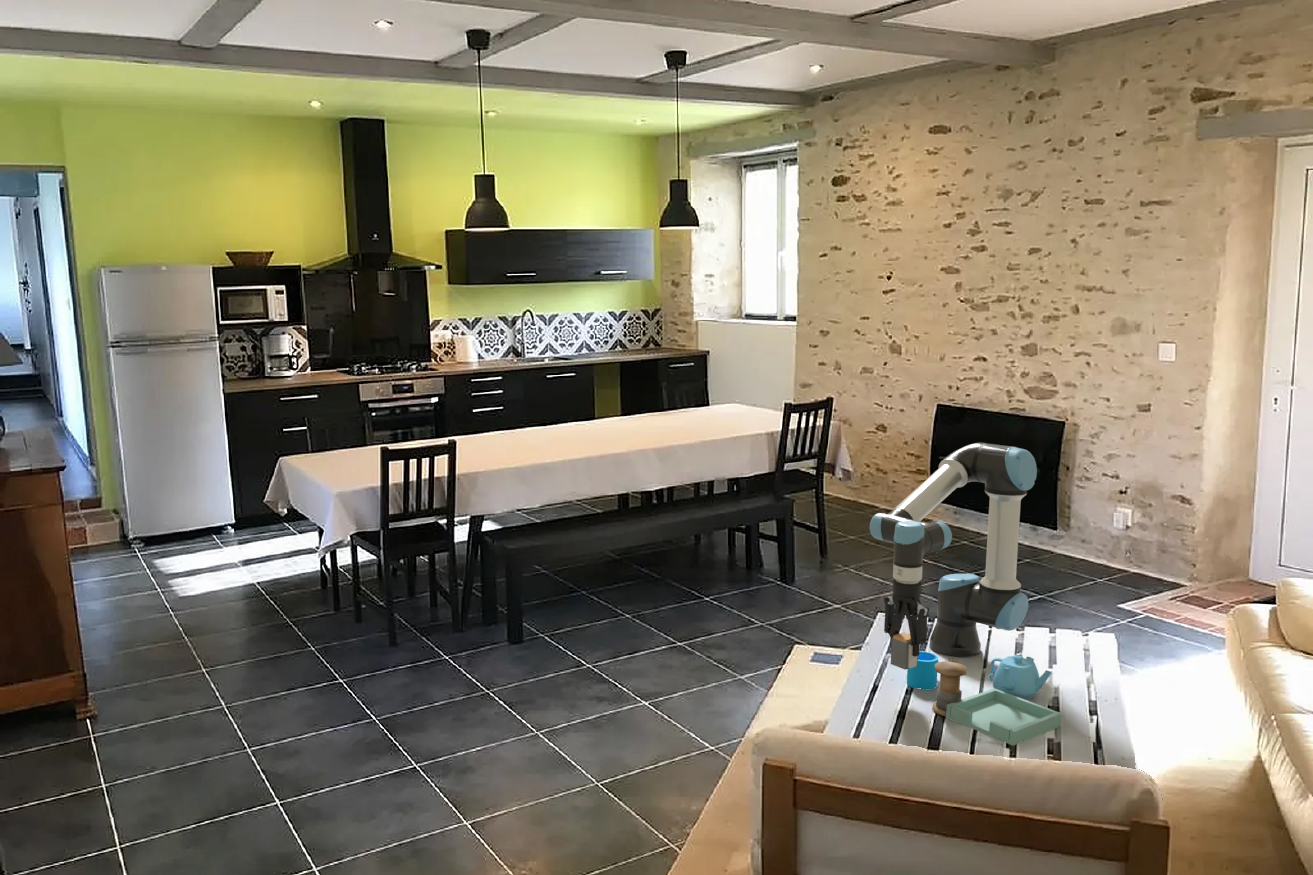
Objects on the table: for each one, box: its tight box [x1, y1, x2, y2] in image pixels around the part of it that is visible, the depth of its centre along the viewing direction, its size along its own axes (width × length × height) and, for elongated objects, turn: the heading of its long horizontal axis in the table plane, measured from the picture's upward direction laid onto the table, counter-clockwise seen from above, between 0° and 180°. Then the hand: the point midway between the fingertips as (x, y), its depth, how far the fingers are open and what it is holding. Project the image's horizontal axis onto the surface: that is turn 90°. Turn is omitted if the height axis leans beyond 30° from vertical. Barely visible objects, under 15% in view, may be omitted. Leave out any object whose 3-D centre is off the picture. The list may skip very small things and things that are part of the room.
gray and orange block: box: [890, 631, 918, 671], centre depth 280 cm, size 5×5×8 cm
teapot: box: [988, 654, 1052, 700], centre depth 285 cm, size 15×14×11 cm
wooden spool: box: [931, 661, 968, 717], centre depth 273 cm, size 8×8×12 cm
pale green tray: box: [945, 687, 1062, 746], centre depth 268 cm, size 20×20×4 cm
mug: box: [906, 650, 939, 690], centre depth 293 cm, size 12×8×8 cm
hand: (903, 663), depth 281 cm, fingers closed on gray and orange block, 5 cm apart
